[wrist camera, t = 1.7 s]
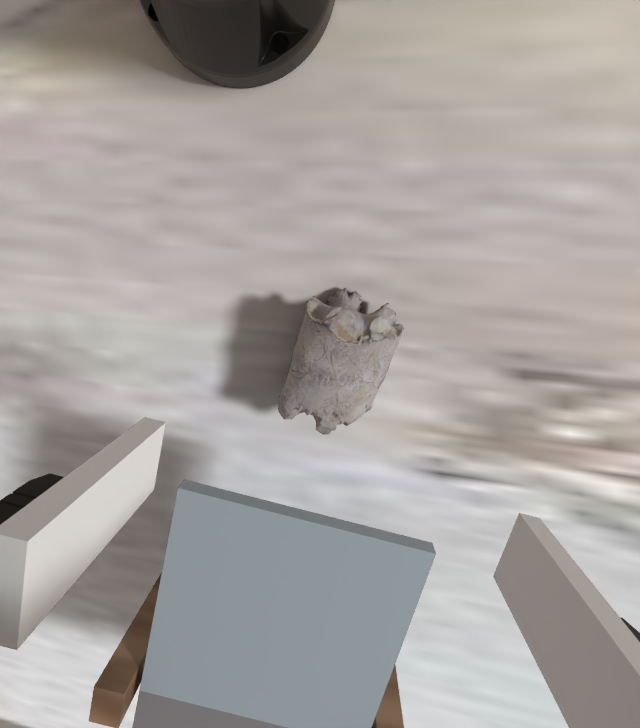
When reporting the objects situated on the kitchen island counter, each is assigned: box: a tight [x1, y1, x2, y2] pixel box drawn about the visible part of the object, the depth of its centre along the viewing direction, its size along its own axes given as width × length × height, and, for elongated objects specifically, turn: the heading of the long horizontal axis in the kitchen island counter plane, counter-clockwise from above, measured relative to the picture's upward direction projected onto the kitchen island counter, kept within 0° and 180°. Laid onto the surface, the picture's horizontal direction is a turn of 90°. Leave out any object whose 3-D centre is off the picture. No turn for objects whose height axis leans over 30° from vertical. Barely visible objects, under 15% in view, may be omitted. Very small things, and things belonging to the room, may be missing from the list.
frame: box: [89, 573, 404, 728], centre depth 35 cm, size 5×22×17 cm, turn 76°
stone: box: [278, 288, 404, 434], centre depth 35 cm, size 8×12×7 cm, turn 162°
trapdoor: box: [133, 480, 436, 728], centre depth 29 cm, size 24×16×4 cm, turn 166°
